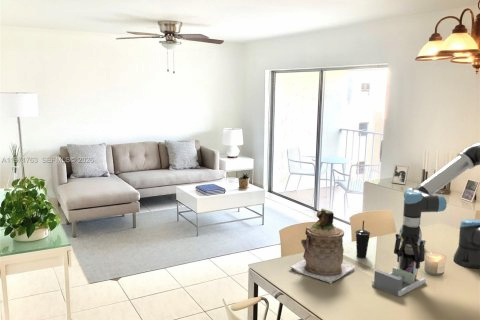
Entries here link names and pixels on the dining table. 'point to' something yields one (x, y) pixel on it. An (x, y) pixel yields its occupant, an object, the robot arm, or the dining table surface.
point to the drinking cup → (362, 242)
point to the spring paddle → (404, 275)
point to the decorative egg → (408, 244)
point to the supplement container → (407, 260)
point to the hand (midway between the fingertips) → (407, 271)
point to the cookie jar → (323, 250)
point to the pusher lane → (394, 283)
